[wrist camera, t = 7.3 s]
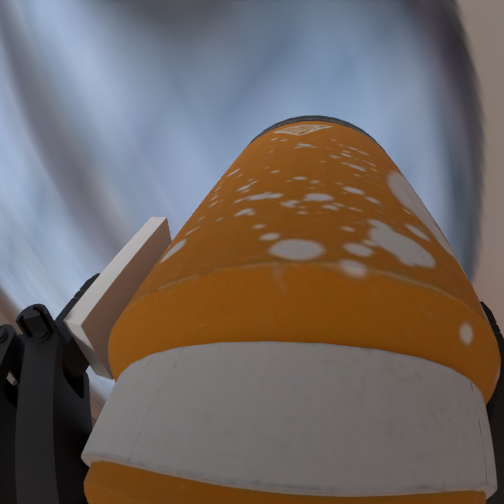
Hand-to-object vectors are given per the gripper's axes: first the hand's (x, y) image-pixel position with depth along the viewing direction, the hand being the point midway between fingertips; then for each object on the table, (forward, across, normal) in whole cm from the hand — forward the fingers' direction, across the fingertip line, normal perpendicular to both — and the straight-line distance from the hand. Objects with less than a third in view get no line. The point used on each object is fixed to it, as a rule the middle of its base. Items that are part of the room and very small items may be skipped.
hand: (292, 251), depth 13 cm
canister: (+5, 0, 0) cm, 5 cm away
